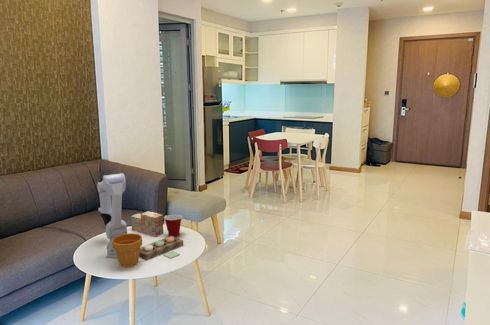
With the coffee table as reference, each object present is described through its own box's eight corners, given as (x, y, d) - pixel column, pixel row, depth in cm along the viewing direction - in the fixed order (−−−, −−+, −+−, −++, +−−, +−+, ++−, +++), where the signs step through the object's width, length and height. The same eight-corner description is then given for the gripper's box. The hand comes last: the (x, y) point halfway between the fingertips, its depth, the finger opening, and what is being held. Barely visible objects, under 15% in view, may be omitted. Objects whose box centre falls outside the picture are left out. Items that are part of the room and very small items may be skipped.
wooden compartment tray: (146, 260, 188) (146, 254, 187) (135, 254, 195) (135, 249, 194) (183, 245, 206) (183, 240, 205) (172, 240, 212) (171, 235, 212)
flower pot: (120, 256, 193) (118, 233, 190) (147, 256, 192) (145, 233, 190) (109, 269, 179) (107, 244, 176) (138, 269, 178) (136, 244, 176)
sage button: (158, 249, 197) (158, 244, 196) (154, 247, 200) (153, 242, 199) (165, 246, 200) (165, 241, 199) (160, 244, 203) (160, 239, 202)
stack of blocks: (131, 230, 229) (130, 211, 226) (139, 227, 234) (138, 208, 232) (156, 237, 217) (154, 217, 215) (163, 233, 223) (162, 214, 220)
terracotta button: (169, 245, 202) (169, 240, 201) (164, 243, 205) (164, 238, 204) (176, 242, 205) (175, 237, 205) (171, 240, 208) (170, 235, 207)
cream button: (147, 254, 192) (147, 248, 191) (142, 251, 194) (142, 246, 194) (154, 251, 195) (154, 246, 194) (149, 248, 198) (149, 243, 197)
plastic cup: (185, 232, 224) (184, 213, 222) (181, 239, 214) (180, 219, 211) (167, 232, 225) (166, 213, 223) (162, 239, 214) (161, 219, 212)
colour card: (170, 258, 189) (170, 257, 189) (163, 255, 193) (163, 254, 193) (179, 254, 194) (179, 254, 194) (172, 251, 198) (172, 250, 198)
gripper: (118, 203, 206) (120, 226, 209) (105, 198, 216) (107, 220, 218) (107, 206, 201) (109, 230, 204) (94, 201, 210) (96, 224, 213)
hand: (107, 225), depth 211 cm, fingers closed
